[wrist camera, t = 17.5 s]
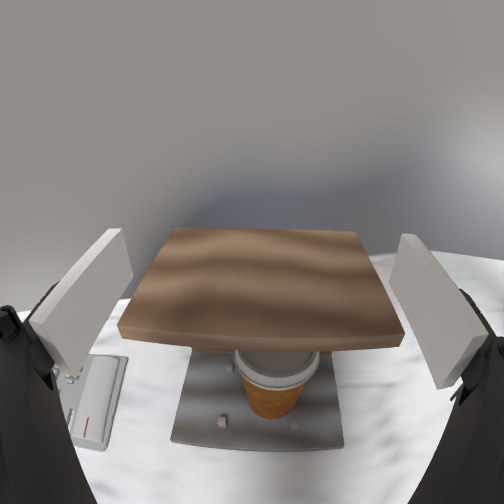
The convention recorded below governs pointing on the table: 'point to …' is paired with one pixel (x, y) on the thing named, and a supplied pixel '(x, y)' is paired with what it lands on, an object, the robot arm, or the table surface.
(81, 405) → the office telephone
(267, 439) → the walnut overhang shelf
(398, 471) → the table surface
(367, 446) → the table surface
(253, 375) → the disposable coffee cup
